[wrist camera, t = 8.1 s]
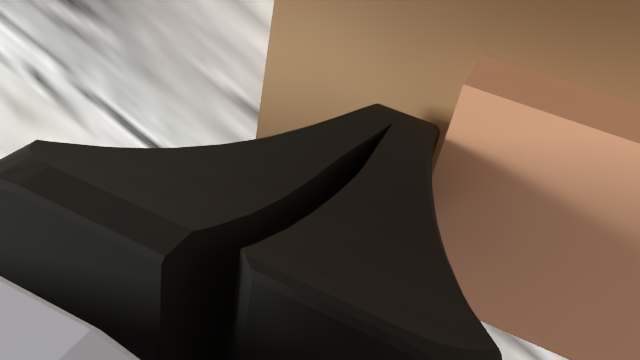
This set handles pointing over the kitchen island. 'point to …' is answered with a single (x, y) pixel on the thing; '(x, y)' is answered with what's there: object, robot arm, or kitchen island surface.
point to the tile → (544, 210)
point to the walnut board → (435, 53)
